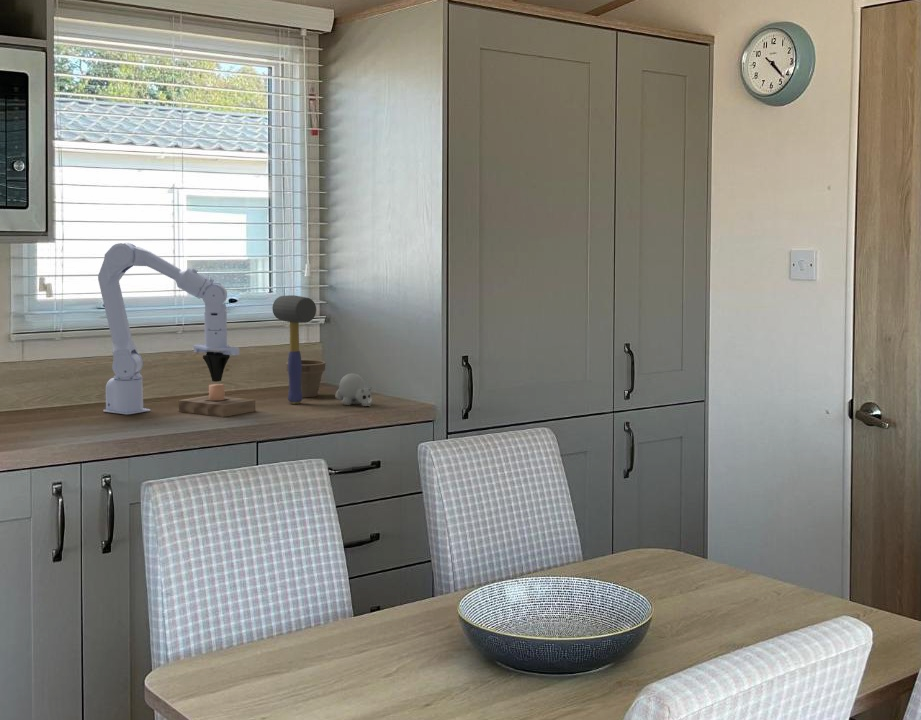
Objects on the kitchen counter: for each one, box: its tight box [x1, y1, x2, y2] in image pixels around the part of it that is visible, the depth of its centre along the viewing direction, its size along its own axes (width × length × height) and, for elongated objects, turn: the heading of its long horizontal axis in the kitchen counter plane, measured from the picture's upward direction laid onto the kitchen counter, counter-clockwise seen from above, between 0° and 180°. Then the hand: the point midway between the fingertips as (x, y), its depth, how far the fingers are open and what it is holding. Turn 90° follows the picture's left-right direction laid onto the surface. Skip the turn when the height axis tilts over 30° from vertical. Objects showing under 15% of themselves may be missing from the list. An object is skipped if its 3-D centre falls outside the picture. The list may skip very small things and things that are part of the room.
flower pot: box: [285, 359, 327, 398], centre depth 327 cm, size 12×11×10 cm
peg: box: [208, 383, 226, 402], centre depth 298 cm, size 4×4×7 cm
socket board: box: [178, 395, 256, 418], centre depth 299 cm, size 16×12×3 cm
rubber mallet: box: [271, 295, 317, 405], centre depth 311 cm, size 12×8×30 cm, turn 43°
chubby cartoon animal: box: [334, 373, 373, 407], centre depth 310 cm, size 7×12×8 cm, turn 45°
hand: (216, 381), depth 298 cm, fingers closed
